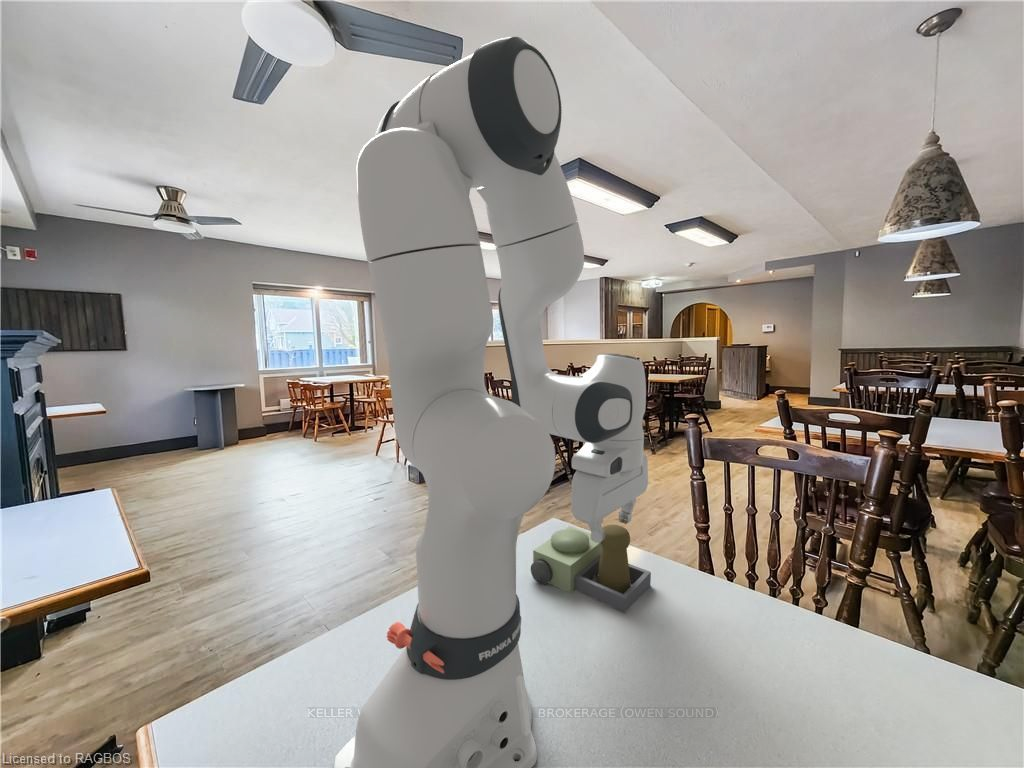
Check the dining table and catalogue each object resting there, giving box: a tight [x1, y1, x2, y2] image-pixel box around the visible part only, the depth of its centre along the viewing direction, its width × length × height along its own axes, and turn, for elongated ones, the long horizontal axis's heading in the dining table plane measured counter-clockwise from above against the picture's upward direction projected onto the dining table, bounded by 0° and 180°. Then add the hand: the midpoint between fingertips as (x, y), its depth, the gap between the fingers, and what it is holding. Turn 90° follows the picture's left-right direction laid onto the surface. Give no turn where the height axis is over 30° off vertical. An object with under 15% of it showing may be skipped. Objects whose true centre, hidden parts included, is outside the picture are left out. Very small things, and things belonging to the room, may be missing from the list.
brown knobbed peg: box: [596, 524, 632, 594], centre depth 74 cm, size 6×6×11 cm
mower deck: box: [530, 526, 652, 614], centre depth 77 cm, size 14×18×6 cm
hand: (611, 530), depth 73 cm, fingers open, 8 cm apart
